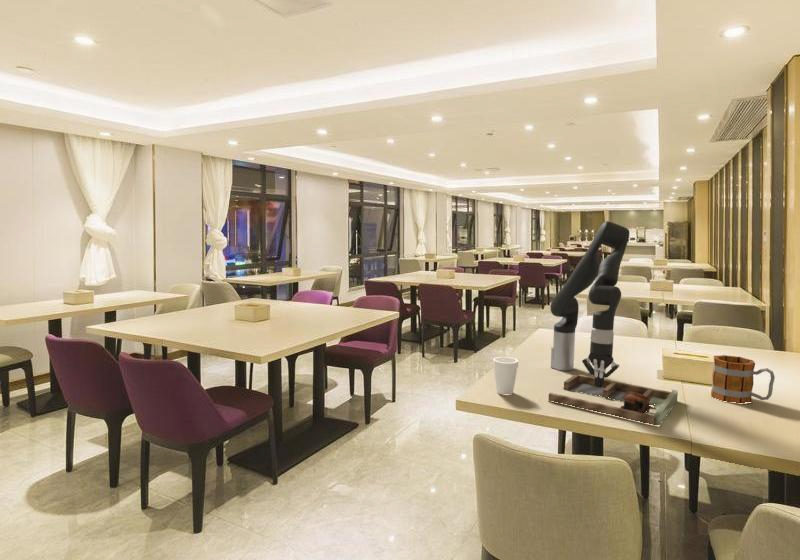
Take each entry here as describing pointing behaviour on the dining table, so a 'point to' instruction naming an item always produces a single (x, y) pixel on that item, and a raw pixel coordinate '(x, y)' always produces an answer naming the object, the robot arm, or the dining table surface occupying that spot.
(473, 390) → the dining table surface
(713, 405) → the dining table surface
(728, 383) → the mug
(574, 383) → the wooden divided tray
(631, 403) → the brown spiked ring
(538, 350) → the dining table surface
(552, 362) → the robot arm
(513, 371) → the foam cup
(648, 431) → the dining table surface
